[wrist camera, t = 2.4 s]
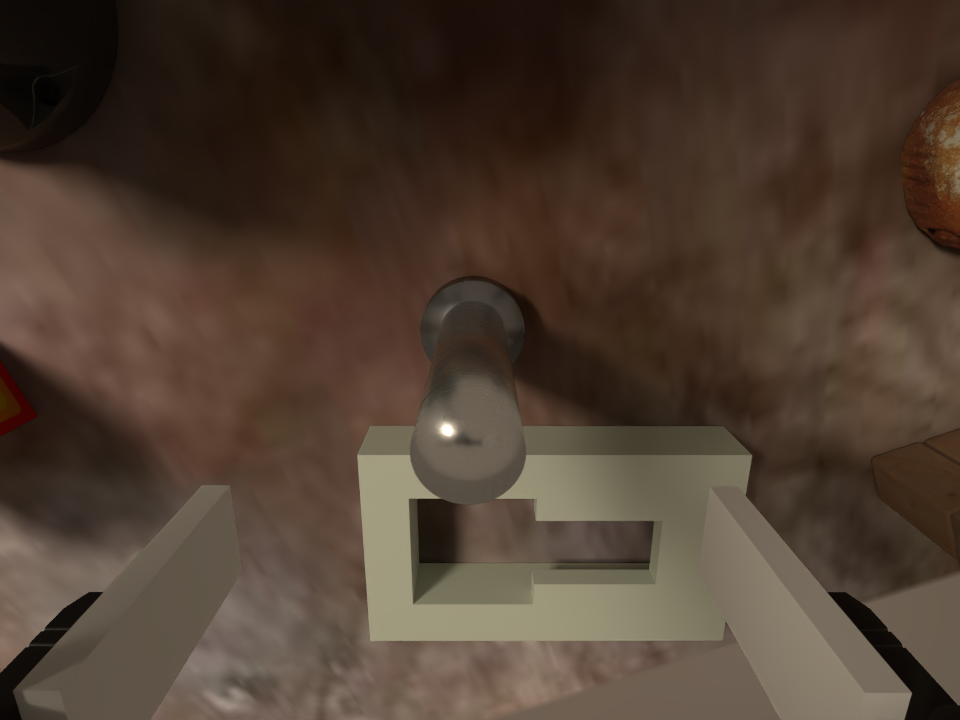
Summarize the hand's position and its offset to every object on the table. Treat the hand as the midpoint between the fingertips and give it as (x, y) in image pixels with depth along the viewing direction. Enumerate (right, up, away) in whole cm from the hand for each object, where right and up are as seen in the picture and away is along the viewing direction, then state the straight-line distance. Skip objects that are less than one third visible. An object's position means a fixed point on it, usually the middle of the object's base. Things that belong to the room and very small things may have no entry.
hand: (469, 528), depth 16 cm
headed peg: (0, +7, +21) cm, 22 cm away
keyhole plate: (+5, -6, +25) cm, 27 cm away
